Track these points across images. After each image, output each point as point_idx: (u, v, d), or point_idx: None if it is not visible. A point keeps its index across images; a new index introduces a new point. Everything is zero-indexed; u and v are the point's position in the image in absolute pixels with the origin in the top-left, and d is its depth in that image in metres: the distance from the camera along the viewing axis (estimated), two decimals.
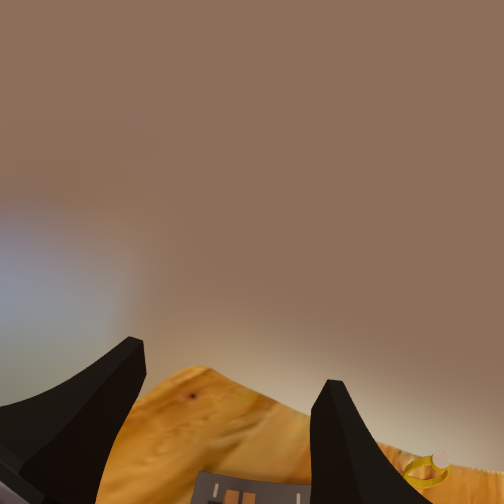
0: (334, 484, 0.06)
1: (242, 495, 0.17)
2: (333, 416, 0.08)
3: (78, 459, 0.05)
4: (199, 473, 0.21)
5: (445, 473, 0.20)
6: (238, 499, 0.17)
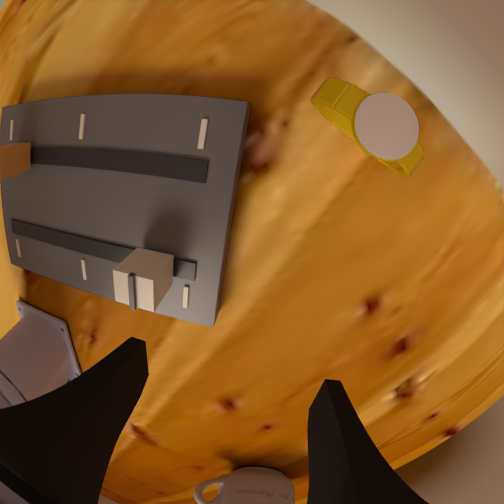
0: (331, 484, 0.06)
1: None
2: (330, 416, 0.08)
3: (81, 460, 0.05)
4: (2, 111, 0.14)
5: None
6: None
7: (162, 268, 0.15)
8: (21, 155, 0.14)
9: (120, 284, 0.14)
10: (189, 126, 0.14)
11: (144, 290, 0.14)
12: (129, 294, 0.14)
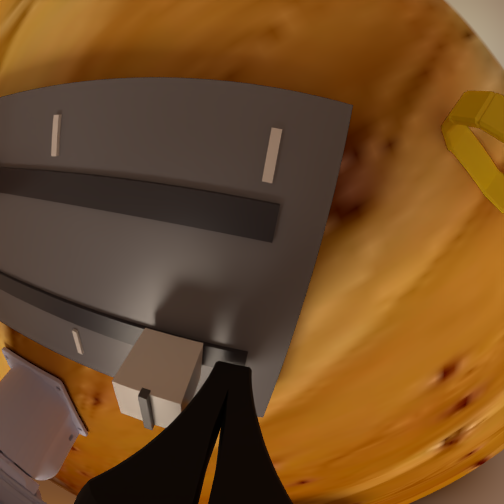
0: None
1: None
2: (226, 401, 0.08)
3: (196, 502, 0.05)
4: None
5: None
6: None
7: (191, 375, 0.09)
8: None
9: (126, 399, 0.08)
10: (245, 140, 0.08)
11: (166, 411, 0.08)
12: (142, 413, 0.08)
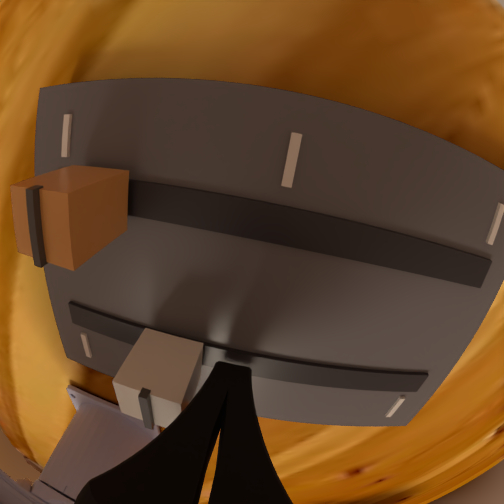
0: None
1: (35, 207, 0.06)
2: (226, 401, 0.08)
3: (196, 503, 0.05)
4: (40, 96, 0.08)
5: None
6: None
7: (191, 375, 0.09)
8: (113, 201, 0.08)
9: (127, 398, 0.08)
10: (483, 209, 0.08)
11: (166, 411, 0.08)
12: (143, 413, 0.08)
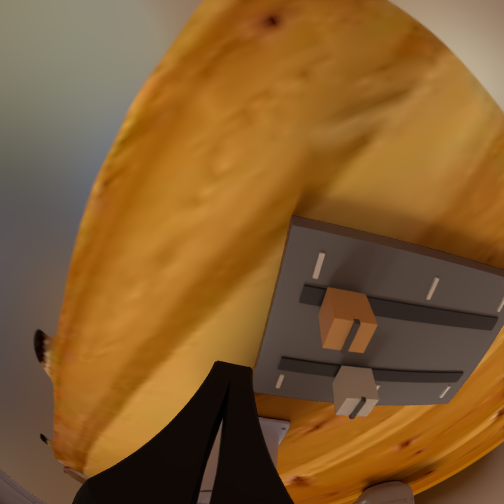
0: (216, 472, 0.06)
1: (356, 330, 0.13)
2: (228, 401, 0.08)
3: (194, 502, 0.05)
4: (292, 231, 0.16)
5: None
6: (348, 335, 0.14)
7: (375, 385, 0.17)
8: None
9: (348, 405, 0.16)
10: (498, 297, 0.16)
11: (367, 406, 0.16)
12: (354, 410, 0.16)
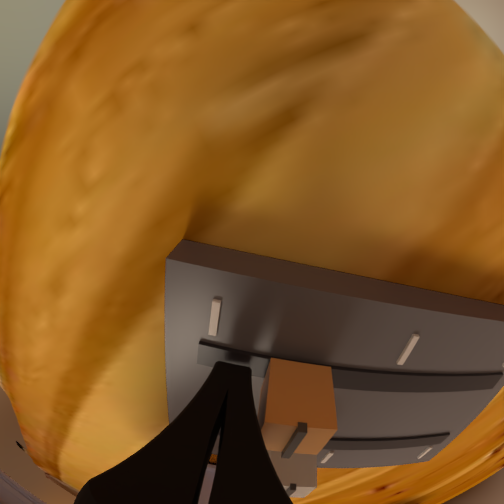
0: (215, 472, 0.06)
1: None
2: (226, 401, 0.08)
3: (195, 502, 0.05)
4: (169, 267, 0.10)
5: None
6: (289, 441, 0.08)
7: (316, 466, 0.11)
8: None
9: None
10: None
11: (301, 491, 0.10)
12: None
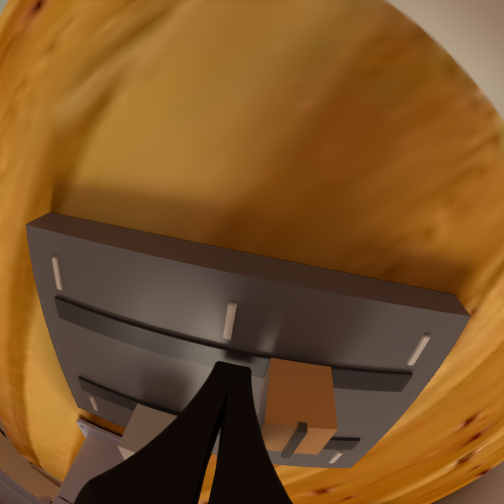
0: None
1: None
2: (226, 401, 0.08)
3: (195, 502, 0.05)
4: (28, 232, 0.10)
5: None
6: (289, 441, 0.08)
7: None
8: None
9: (128, 454, 0.11)
10: (405, 342, 0.10)
11: None
12: None
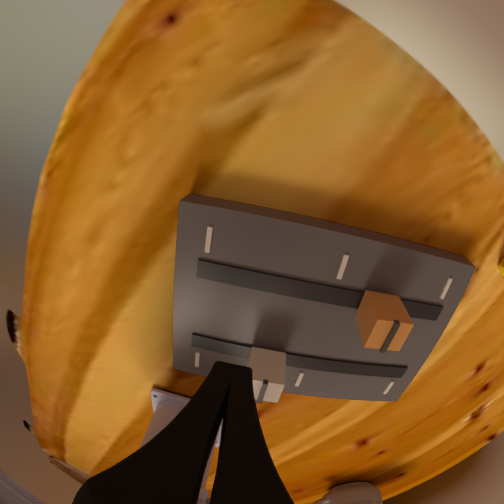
0: (216, 472, 0.06)
1: None
2: (228, 401, 0.08)
3: (194, 502, 0.05)
4: (181, 206, 0.16)
5: None
6: (388, 335, 0.14)
7: None
8: None
9: None
10: (438, 282, 0.16)
11: (274, 390, 0.17)
12: (259, 394, 0.17)
